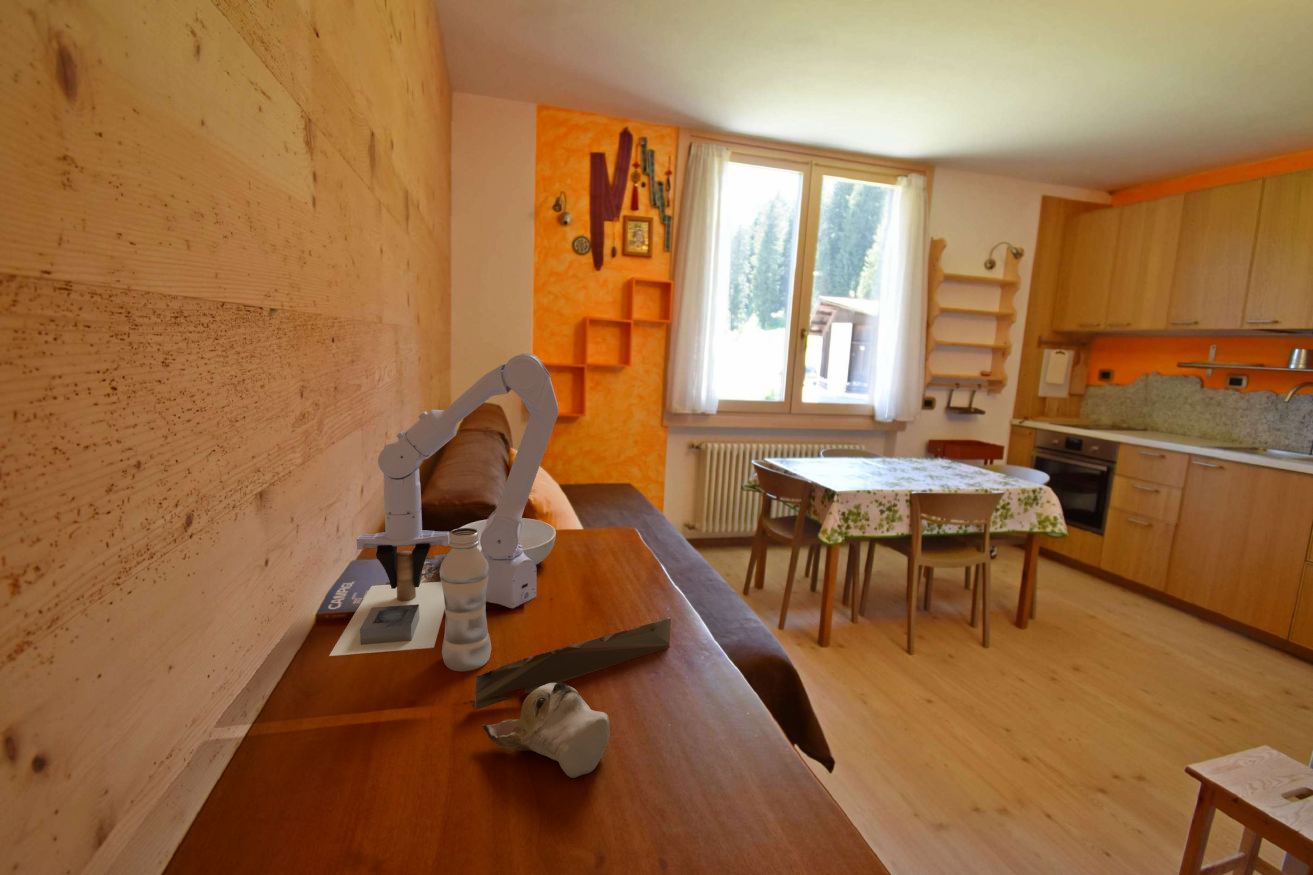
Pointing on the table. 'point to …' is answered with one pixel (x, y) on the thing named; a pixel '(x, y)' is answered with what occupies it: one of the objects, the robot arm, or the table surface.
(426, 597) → the cream board
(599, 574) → the table surface
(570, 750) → the ceramic sculpture
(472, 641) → the plastic bottle
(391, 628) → the grey square tray
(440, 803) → the table surface
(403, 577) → the oak dowel
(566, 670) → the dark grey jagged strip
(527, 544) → the serving bowl
